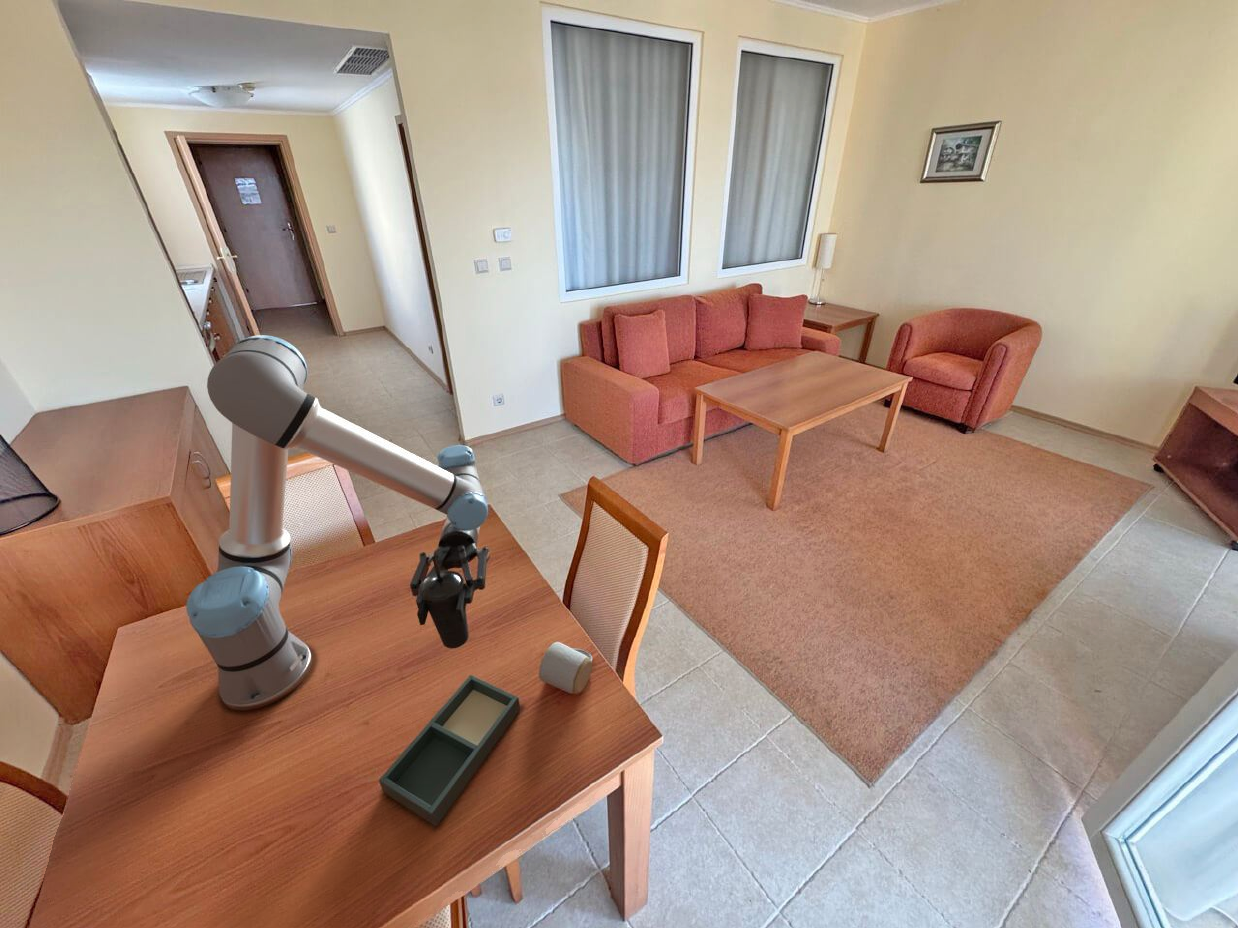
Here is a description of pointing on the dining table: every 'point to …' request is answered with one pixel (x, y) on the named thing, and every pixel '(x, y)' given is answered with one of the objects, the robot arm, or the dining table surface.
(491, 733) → the divided tray
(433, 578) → the drinking cup
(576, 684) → the ceramic mug
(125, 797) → the dining table surface
